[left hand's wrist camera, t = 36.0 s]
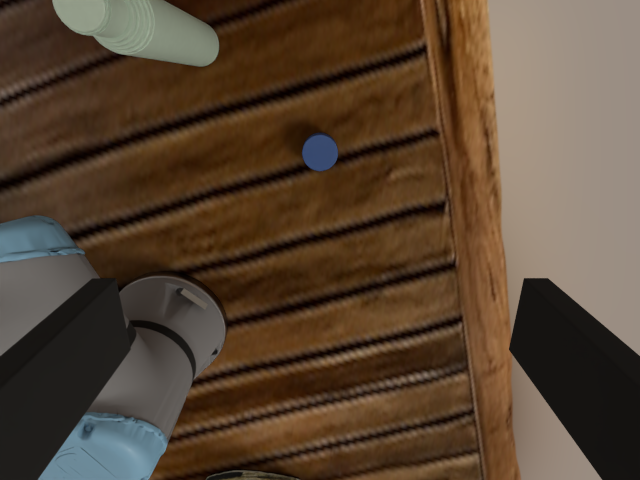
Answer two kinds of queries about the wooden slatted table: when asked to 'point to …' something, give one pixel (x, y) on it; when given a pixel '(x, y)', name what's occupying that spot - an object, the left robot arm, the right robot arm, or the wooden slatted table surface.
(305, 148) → the cap
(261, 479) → the fossil
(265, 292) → the wooden slatted table surface
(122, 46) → the bottle
